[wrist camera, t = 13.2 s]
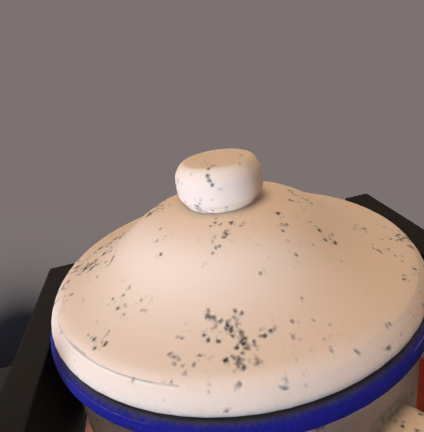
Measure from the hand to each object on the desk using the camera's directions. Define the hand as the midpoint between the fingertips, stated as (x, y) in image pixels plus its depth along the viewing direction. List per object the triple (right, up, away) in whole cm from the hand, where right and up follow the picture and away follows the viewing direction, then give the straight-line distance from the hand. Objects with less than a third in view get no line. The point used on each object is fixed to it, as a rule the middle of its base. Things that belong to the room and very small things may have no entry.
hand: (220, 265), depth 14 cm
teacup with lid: (+2, -8, -1) cm, 9 cm away
